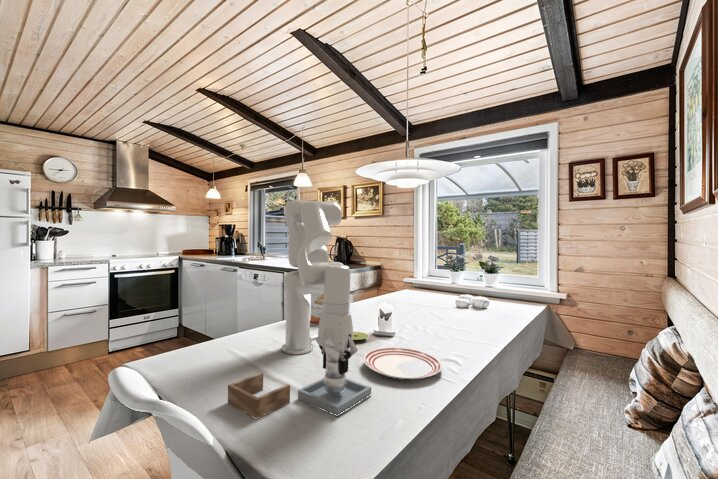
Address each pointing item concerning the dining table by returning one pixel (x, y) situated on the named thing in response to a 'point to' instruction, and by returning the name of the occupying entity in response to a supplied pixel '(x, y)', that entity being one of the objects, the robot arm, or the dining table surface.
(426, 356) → the dinner plate
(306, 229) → the robot arm
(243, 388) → the walnut bay
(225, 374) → the dining table surface
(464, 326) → the dining table surface
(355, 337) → the mat
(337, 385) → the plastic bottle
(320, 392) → the grey square tray
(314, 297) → the cracker box
